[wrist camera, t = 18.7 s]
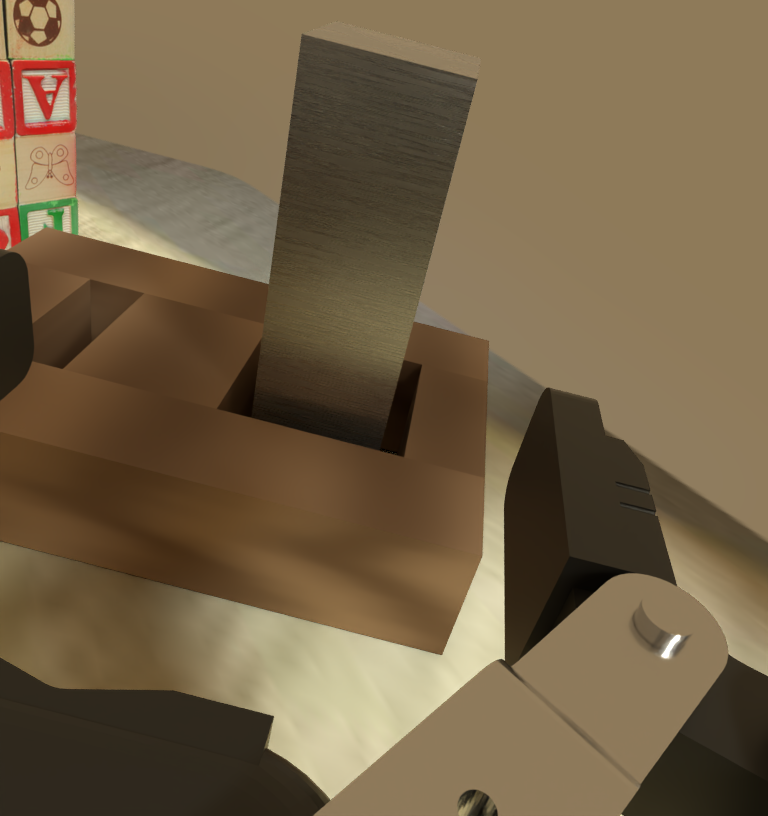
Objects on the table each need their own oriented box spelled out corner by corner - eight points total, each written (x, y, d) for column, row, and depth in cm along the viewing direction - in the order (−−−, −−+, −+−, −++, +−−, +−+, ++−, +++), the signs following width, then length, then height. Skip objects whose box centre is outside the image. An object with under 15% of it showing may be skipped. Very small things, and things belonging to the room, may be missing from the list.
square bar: (375, 460, 27) (480, 58, 19) (358, 532, 23) (477, 79, 16) (272, 433, 27) (336, 20, 19) (240, 501, 23) (301, 34, 16)
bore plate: (461, 422, 30) (488, 340, 28) (441, 654, 20) (482, 556, 18) (51, 316, 30) (46, 227, 28) (-176, 495, 20) (-211, 377, 18)
